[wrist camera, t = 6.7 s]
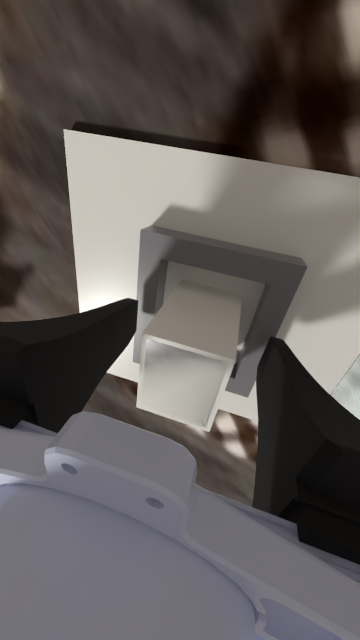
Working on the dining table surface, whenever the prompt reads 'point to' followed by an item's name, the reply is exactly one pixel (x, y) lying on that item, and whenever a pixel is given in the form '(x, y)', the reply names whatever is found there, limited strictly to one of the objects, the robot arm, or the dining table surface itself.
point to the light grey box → (189, 354)
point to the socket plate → (220, 249)
